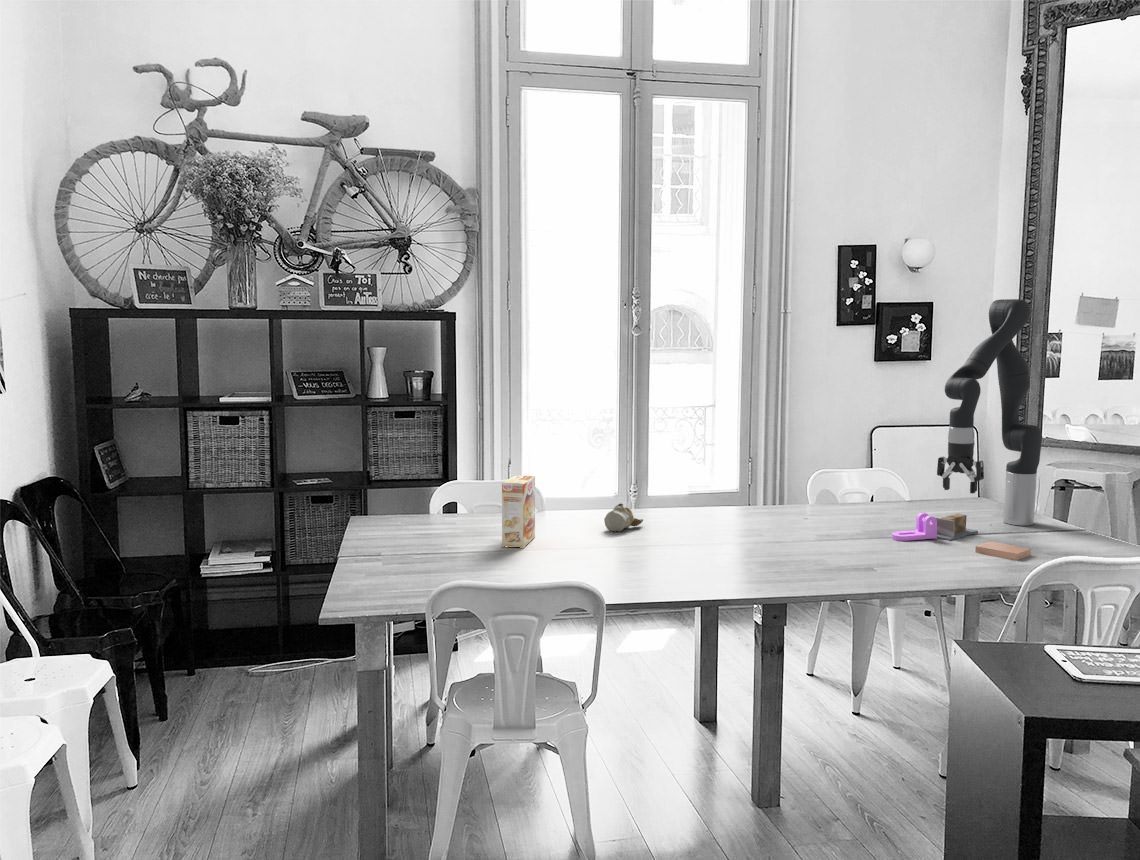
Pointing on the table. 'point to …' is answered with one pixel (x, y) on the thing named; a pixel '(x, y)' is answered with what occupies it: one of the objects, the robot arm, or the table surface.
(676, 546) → the table surface
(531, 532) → the coffeecake box
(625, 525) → the ceramic sculpture
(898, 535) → the bracket
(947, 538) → the mat
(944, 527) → the upright plank on base
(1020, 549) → the tile
